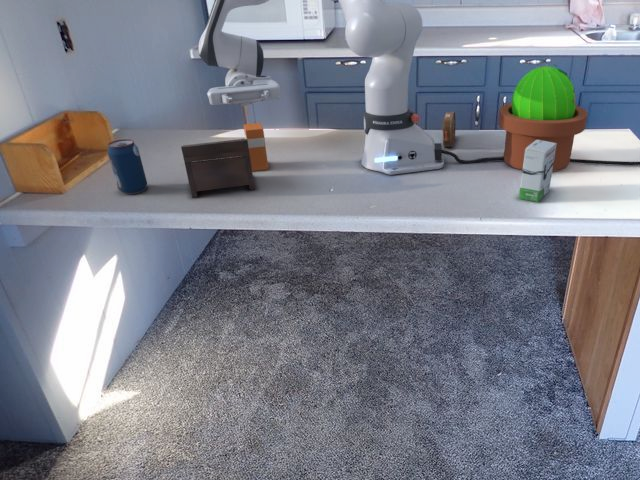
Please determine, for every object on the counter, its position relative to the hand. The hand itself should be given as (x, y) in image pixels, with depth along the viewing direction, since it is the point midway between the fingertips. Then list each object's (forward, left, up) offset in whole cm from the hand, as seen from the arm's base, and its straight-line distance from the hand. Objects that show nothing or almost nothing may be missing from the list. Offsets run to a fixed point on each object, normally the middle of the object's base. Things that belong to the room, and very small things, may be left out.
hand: (247, 99), depth 150 cm
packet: (-2, +11, -16) cm, 19 cm away
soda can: (+28, +23, -16) cm, 40 cm away
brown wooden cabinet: (+6, +24, -16) cm, 29 cm away
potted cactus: (-77, +18, -16) cm, 81 cm away
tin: (-57, -2, -16) cm, 59 cm away
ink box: (-69, +40, -16) cm, 82 cm away
